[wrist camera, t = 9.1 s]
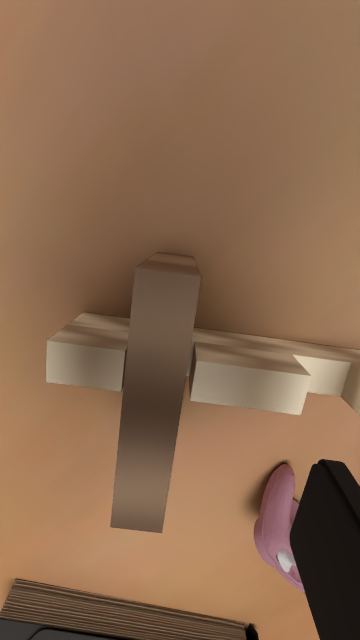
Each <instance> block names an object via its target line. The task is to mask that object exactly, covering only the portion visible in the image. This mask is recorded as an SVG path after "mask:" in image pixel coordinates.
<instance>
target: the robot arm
mask: <svg viewBox="0 0 360 640" xmlns="http://www.w3.org/2000/svg"><path fill="white" fill-rule="evenodd" d="M289 539H290V546H291V550H292V553H293V556H294V559H295V562H296V566H297V569H298V572H299V575H300V578H301V581H302V584H303V588H304V591H305V594H306V597H307V600H308V603H309V606H310V610H311V613H312V616H313V619H314V622H315V625H316V628H317V632H318V635H319V638H320V640H360V486H359V485H358V483H357V482H356V480H355V479H354V477H353V476H352V474H351V472H350V471H349V469H348V468H347V466H346V465H345V464H344V463H343V462H340V461H332V460H325V459H321V460H319V461H318V463H317V464H313V465H312V468H311V470H310V473H309V476H308V479H307V482H306V485H305V488H304V491H303V494H302V497H301V500H300V503H299V506H298V509H297V512H296V515H295V518H294V521H293V524H292V527H291V530H290V536H289Z"/></svg>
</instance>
